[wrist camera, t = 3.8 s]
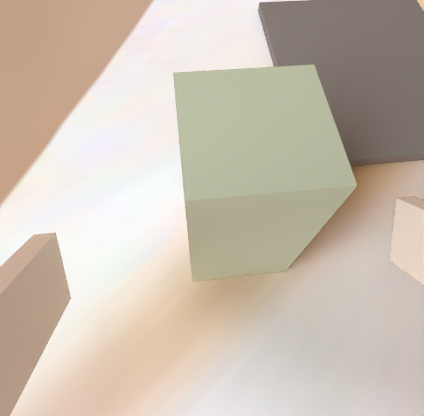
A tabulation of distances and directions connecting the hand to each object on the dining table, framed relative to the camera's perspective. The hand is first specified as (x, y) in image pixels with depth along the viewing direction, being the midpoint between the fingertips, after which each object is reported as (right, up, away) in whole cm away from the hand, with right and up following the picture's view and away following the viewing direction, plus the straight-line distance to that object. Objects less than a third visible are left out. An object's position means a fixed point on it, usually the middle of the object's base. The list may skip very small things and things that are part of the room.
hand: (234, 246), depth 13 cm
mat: (+13, +14, +17) cm, 25 cm away
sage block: (0, 0, +10) cm, 10 cm away
